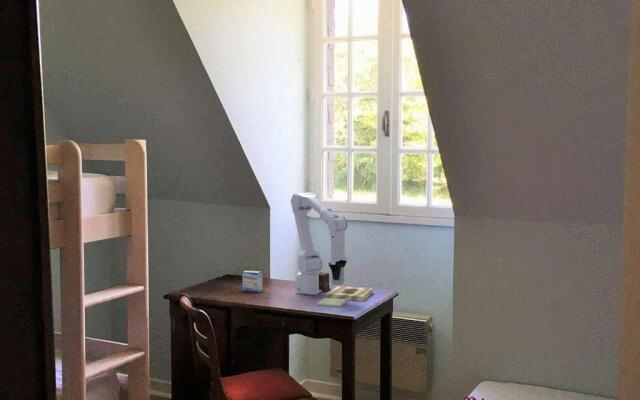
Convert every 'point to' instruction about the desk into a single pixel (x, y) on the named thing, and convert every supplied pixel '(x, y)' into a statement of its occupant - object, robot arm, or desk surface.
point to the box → (323, 281)
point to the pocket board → (357, 295)
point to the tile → (332, 302)
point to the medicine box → (252, 281)
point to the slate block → (341, 278)
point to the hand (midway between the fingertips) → (337, 278)
